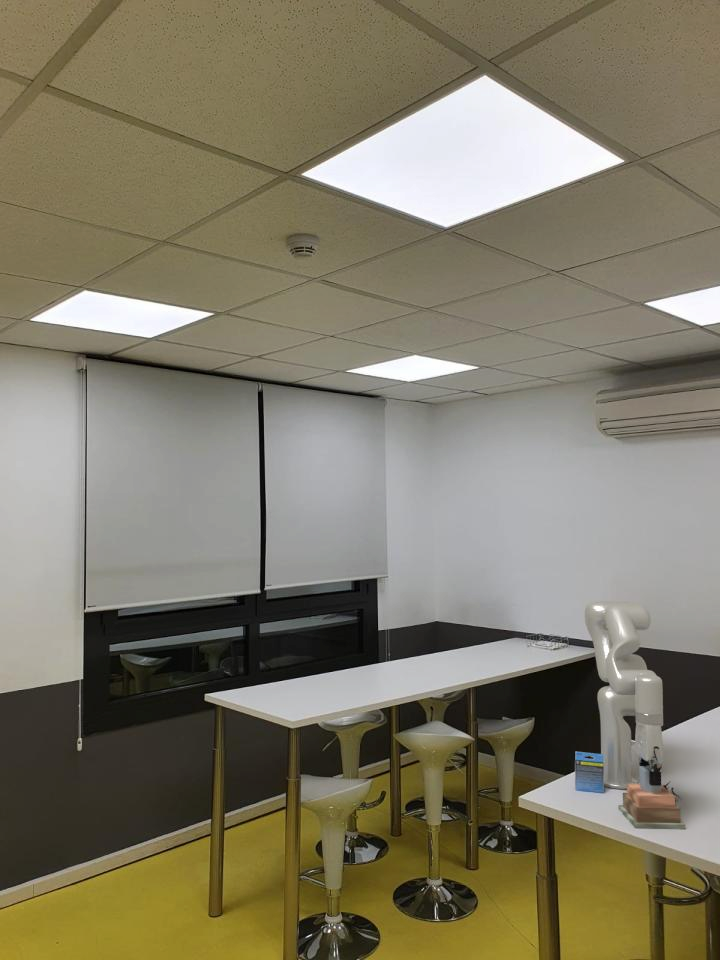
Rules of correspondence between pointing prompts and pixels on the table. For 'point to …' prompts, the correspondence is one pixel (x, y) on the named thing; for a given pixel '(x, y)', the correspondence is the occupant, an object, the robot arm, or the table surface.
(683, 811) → the table surface
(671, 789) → the creature
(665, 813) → the stepped plate stack
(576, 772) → the label tape box
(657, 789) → the slate brick
